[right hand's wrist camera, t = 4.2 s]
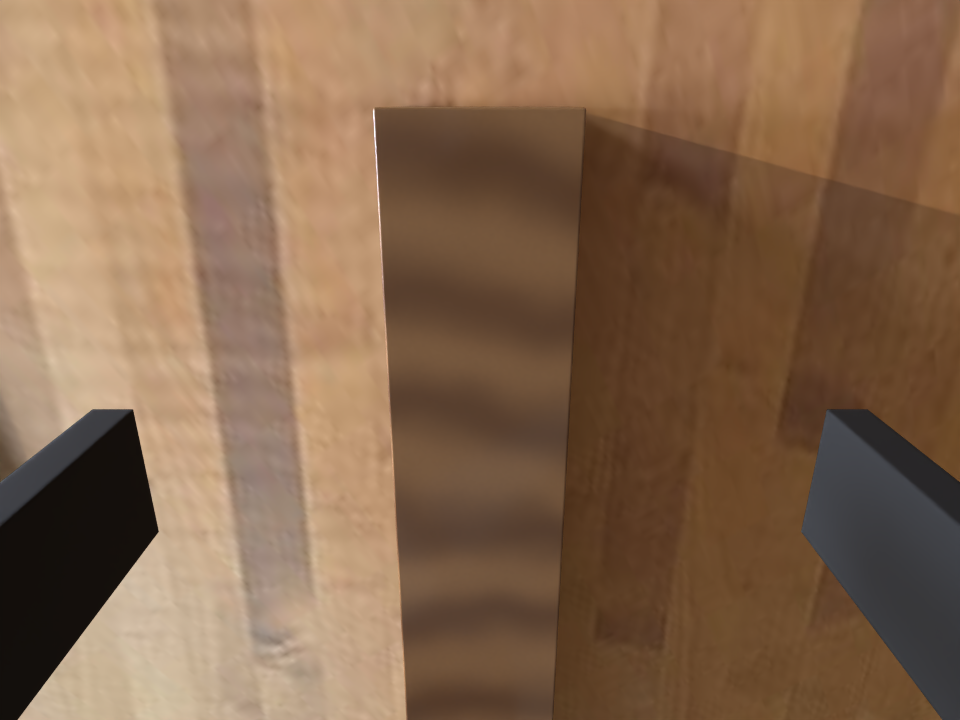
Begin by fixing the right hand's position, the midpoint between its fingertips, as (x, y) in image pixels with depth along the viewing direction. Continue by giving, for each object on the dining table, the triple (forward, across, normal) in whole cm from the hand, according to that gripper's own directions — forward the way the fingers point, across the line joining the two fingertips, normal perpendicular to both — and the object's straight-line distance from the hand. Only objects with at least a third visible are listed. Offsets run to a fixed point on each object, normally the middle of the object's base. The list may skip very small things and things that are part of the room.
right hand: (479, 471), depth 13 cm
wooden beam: (+26, 0, -27) cm, 37 cm away
